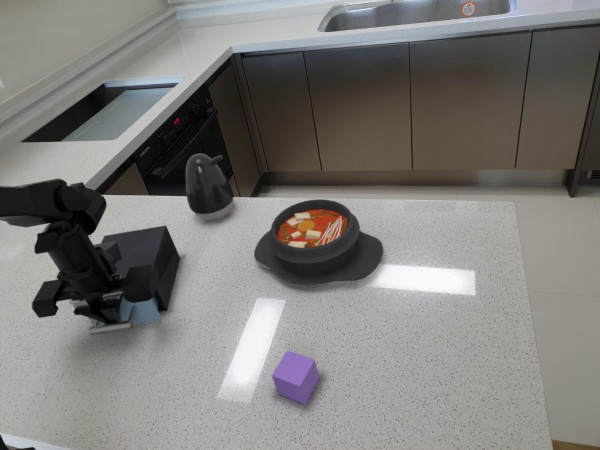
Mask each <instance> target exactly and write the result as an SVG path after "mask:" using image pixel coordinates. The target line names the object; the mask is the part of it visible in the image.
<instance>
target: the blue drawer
mask: <svg viewBox="0 0 600 450" xmlns="http://www.w3.org/2000/svg"><path fill="white" fill-rule="evenodd" d="M158 305H159V302H158V300H157V298H156V296H155V294H154V296H153V298H152V299H150V300H149V301H143V302H137V303H131V302H128V301H126V300H125V298H124V296H123V299H122V302H121V304H120V313H121V322H115V323H109V324H105V323H102V322H100V321H97V320H95V319H92V318H89V317H87V318H88V319H89V321H90V322H91V324H92V325H91V326H89V327H88V334H89V335H90V336H95V335H101V334H106V333H107V334H108V333H113V332H114V333H115V332H119V331H127V330H132V329H134V326H135V325H140V324H147V323H153V322H159V321H160V318H161V314H160V312H158V310H157V309H158Z"/></svg>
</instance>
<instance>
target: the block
mask: <svg viewBox="0 0 600 450" xmlns="http://www.w3.org/2000/svg"><path fill="white" fill-rule="evenodd" d="M271 378H272V380H273V383H274V386H275V390H276V392H277V394H278V395H279V396H282V397H284V398H287V399H290V400H292V401H295V402H297V403H299V404H303V405H306V404H307V402H308V401H309V398H310V397H311V395H312V393H313V391H314V390H315V388H316V386H317V384H318V382H319V380H320V374H319V371H318V367H317V363H316V359H314V358H311V357H309V356H306V355H302V354H299V353H297V352H294V351H291V350H288V349H287V350H286V352H285V353H284V355H283V357H282V358H281V360H280V361H279V363H278V365H277V366H276V368H275V369H274V371H273V373H272V374H271Z"/></svg>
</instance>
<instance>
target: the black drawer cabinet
mask: <svg viewBox="0 0 600 450" xmlns="http://www.w3.org/2000/svg"><path fill="white" fill-rule="evenodd" d="M173 240H174V239H173V238H172V235H171V234H170V231H169V229H168V226H167V225H161V226H154V227H148V228H142V229H136V230H130V231H125V232H117V233H113V234H107V235H103V237H102V240H101V241H100V243H106V242H112V241H117V243H118V247H119V250H120V253H121V256H122V260H119V261H118V262H117V263H116V264H115V266H116V268H117V270H116V272H115V274H112V276H114V275H122V279H123V278H126V276H127V273H128V270H129V268H131V267H137V266H143V265H149V264H151V265H154V266H155V267H156V268H157V270H158V272H159V279H158V282H157V286H156V289H155V293H154V294H155V296H156V298H157V300H158V302H159V305H158V309H157V310H158V312H159V313H161V312H167V311H168V310H169V305H170V301H171V297H172V294H173V289H174V285H175V280H176V278H177V277H176V276H177V272H178V269H179V265H180V261H181V256H180V254H179V251H178V249H177V247H176V245H175V243H174V241H173Z"/></svg>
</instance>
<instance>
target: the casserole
mask: <svg viewBox="0 0 600 450" xmlns="http://www.w3.org/2000/svg"><path fill="white" fill-rule="evenodd" d="M360 229H361V226H360V222H359V220H358V218H357V216H356V215H355V214H353V213H352V212H351V210H350V209H349V208H348V207H347V206H346V205H344V204H342V203H341V202H338V201H335V200H332V199H324V198H323V199H322V198H321V199H320V198H319V199H309V200H304V201H299V202H297V203H294V204H292V205H290V206H288V207H287V208H285V209H283V210H282V211H281V212H279V213H278V215H276V217H275V218H274V219H273V221H272V223H271V227H270V229H269V231H267V232H266V233H264V234H263V236H262V237H260V239H259V241H258V242H257V244H256V245H255V248H254V253H253V256H254V258H255V260H256V262H258V263H260V264H261V265H263V266H265V267H267V268H268V269H270V271H272V272H273V273H274V274H275V275H276V276H278V278H280V279H283V280H284V281H285V282H289V283H291V284H295V285H302V286H317V285H323V284H330V283H336V282H358V281H361V280H363V279H366V278H367V277H368V276H370V275H371V274H372V273H373V272H374V271H376V269H377V268H378V266H379V264H380V263H381V262H382V259H383V255H384V246H383V243H382V241H381V240H380V239H379V238H377V237H375V236H373V235H370V234H368V233H365V232H363V231H361V230H360Z"/></svg>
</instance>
